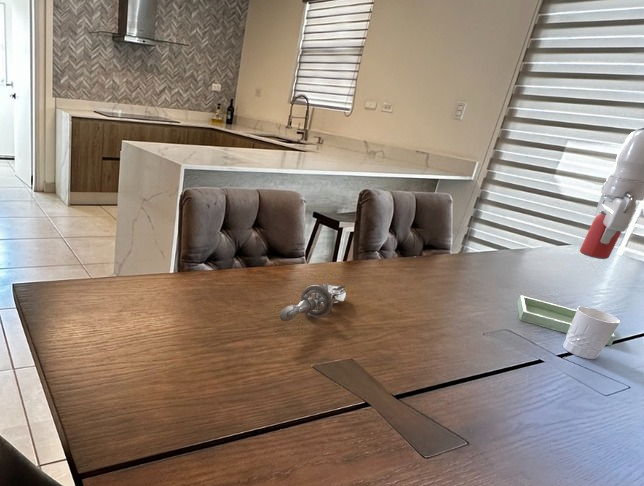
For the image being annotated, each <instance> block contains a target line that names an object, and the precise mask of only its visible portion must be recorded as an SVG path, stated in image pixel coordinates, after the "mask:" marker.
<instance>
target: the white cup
mask: <svg viewBox="0 0 644 486" xmlns="http://www.w3.org/2000/svg"><path fill="white" fill-rule="evenodd" d="M576 310H577V311H576V313H575V316H574V318H573V320H572V323H571V325H570V327H569V330H568V333H566V337H565V340H564V342H563V344H562V347H563V349H564V350H566V351H567V352H569V353H570V354H572V355H574V356H577V357H580V358H583V359H586V360H587V359H588V360H596V359H598V357H599V356H600V354H601V352H602V350H603V349H605V347H606V346H607V345H606V344H607V342H608V340H609V339H610V338H611V336H612V334H614V333H615V331H616V329H617V328H618V326H619V325H620V323H621V320H620V319H619V318H618V317H616V316H615V315H613V314H611V313H608V312H606V311H603V310H600V309H597V308H593V307H588V306H578V307H577V308H576Z"/></svg>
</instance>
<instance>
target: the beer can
mask: <svg viewBox="0 0 644 486" xmlns="http://www.w3.org/2000/svg"><path fill="white" fill-rule="evenodd" d="M603 212H604V211H600V213H599V214H598V215H597V216H595V217H594V218H593V221H592V223H591V225H590V227H589V229H588V231H587V234H586V236H585V238H584V240H583V242H582V244H581V247H580V249H579V252H580V253H581V254H582V255H584V256H587V257H588V258H589V257H590V258H592V259H593V258H594V259H598V260H606V259H609V258H610V256H611V254H612V253H613V250H614V248H615V246H616V244H617V241H618V240H619V237H620V236H621V234H622V231H617V232H616V233H615V235H614V236H613V237H612V238H611V240H610V242H609V243H608V244H604V243H601V242H600V239H601V236H602V235H603V234H604V232H605V229H606V226H605V225H604V224H603V221H604V218H605V216H606V213H603Z"/></svg>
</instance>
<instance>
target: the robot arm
mask: <svg viewBox="0 0 644 486" xmlns="http://www.w3.org/2000/svg"><path fill="white" fill-rule="evenodd" d="M600 193H601V195H600V198H599V200H598V203H597V207H596V210H595V213H594V214H595V217H596V216H597V215H598V214H599V213H600V211H604V212H603V213H606V216H605V218H604V221H603V224H604V225H605V226H606V229H605V232H604V234H603V235H602V236H601V239H600V242H601V243H604V244H608V243H609V242H610V240H611V238H612V237H613V236H614V235H615V233H616V232H617V231H622V232H625V231H626V230H627V229H628V227H629V225H630V223H631V221H632V218H633V216H634V213H635V212H636V208H637V203H636V202H637V201H639V202H640V201H644V127H639V128H637V129H635V130H633V131H632V132H630V134H629V135H628V136H627V138H626V139H625V141H624V143H623V145H622V146H621V148H620V150H619V152H618V153H617V156H616V159H615V165H614V167H613V169H612V170H611V171H610V173H608V176H607V178H606V180H605V182H604V183H603V185H602V187H601V192H600ZM622 232H621V233H622Z"/></svg>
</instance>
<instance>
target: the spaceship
mask: <svg viewBox="0 0 644 486" xmlns="http://www.w3.org/2000/svg"><path fill="white" fill-rule="evenodd" d="M345 289H346V286H345V285H344V284H341V285H338V286H337V285H329V283H328V282H325V283H322V284H321V285H319V284H312V285H308V286H307V287H306V288H305V289H304V290H303V291H302V293H301V295H300V302H299V303H297V305H295V304H290V305H288V306H286V307H284V308H283V309H282V310H281V311H280V314H279V318H280V320H281V321H282V322H289V321H291V320H293V319H295V318H296V317H297V316H298V314H304V316H305V317H309V316H310V317H311V318H316V319H322V318H324V317H327V316H328V315H329V314H330V313H331V311H332V308H333V304H335V303H339V302H344V301H345V299H346V296H347V295H346V294H347V292H346V290H345ZM313 295H314V296H313ZM333 300H336V301H333ZM319 308H321V309H319ZM315 309H316V310H315Z"/></svg>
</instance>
